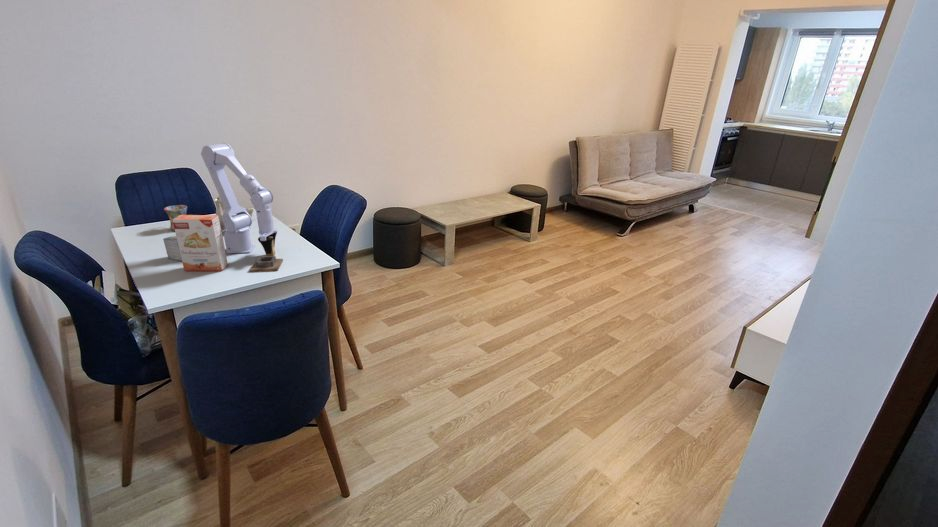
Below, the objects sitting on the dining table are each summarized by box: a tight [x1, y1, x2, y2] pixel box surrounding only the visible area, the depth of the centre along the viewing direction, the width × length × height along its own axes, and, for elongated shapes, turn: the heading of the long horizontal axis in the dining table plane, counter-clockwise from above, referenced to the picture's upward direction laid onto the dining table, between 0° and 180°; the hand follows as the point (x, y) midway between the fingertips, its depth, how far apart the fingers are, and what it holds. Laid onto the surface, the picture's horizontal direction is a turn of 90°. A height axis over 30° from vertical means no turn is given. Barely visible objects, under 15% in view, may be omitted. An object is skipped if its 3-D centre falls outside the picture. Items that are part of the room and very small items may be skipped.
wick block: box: [265, 237, 276, 256], centre depth 185 cm, size 3×3×8 cm
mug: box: [163, 204, 188, 232], centre depth 212 cm, size 12×9×11 cm
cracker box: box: [172, 214, 229, 272], centre depth 169 cm, size 14×6×21 cm, turn 94°
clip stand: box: [249, 255, 284, 273], centre depth 176 cm, size 10×10×3 cm
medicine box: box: [163, 235, 182, 261], centre depth 180 cm, size 8×4×9 cm, turn 71°
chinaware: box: [213, 195, 254, 232], centre depth 217 cm, size 28×17×17 cm, turn 15°
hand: (270, 251), depth 186 cm, fingers open, 4 cm apart
